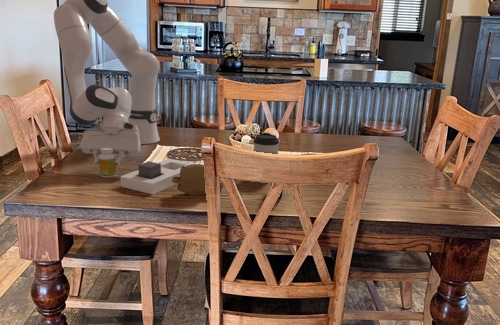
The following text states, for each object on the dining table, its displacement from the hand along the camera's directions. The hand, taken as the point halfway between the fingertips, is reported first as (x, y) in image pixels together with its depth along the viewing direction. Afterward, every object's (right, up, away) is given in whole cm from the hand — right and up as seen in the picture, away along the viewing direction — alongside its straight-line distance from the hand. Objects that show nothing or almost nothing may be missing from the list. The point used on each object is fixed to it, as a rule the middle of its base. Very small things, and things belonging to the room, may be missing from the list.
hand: (106, 163), depth 162 cm
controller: (+57, -10, -11) cm, 59 cm away
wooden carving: (+32, -10, -13) cm, 36 cm away
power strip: (+19, -6, -1) cm, 20 cm away
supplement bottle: (0, -4, +2) cm, 5 cm away
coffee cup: (+54, -5, +7) cm, 54 cm away
